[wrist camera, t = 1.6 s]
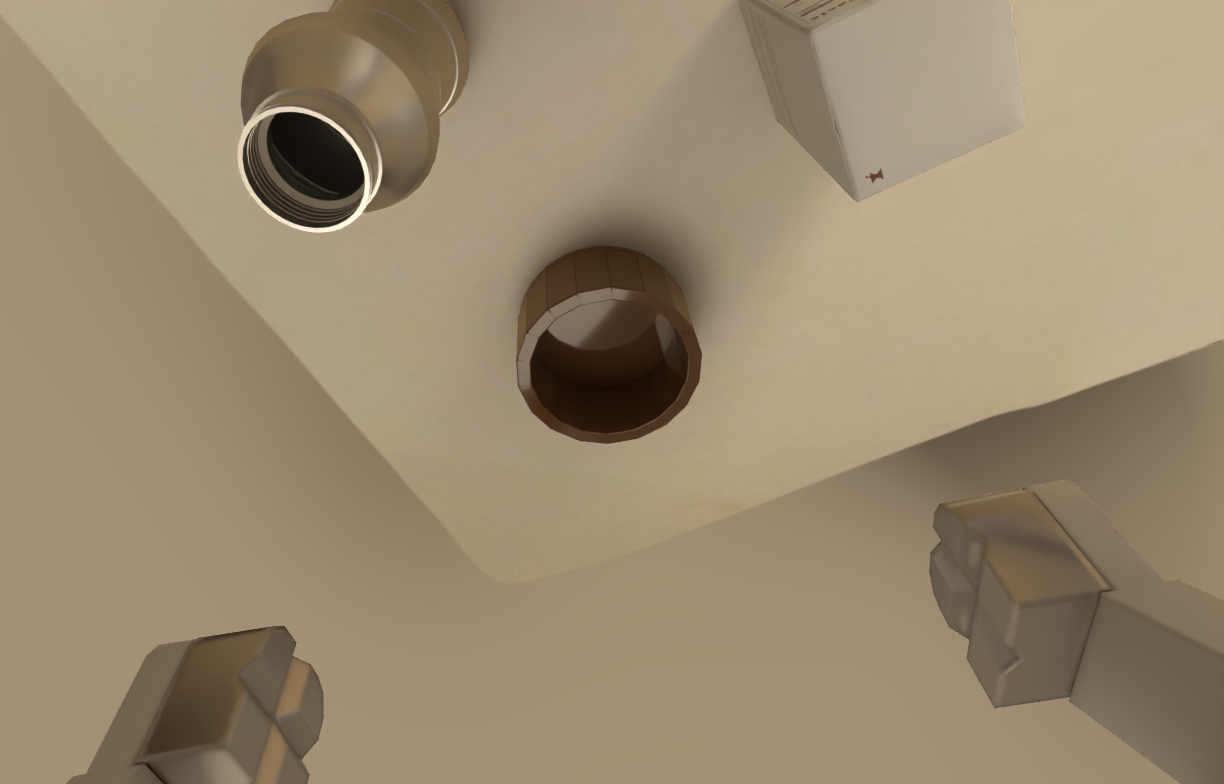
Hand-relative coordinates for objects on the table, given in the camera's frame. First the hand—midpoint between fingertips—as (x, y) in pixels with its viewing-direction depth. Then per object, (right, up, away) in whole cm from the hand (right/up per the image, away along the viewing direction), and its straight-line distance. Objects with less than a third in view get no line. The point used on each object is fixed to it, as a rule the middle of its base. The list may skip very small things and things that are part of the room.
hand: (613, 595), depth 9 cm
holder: (-1, +7, +39) cm, 39 cm away
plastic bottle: (-10, +20, +28) cm, 36 cm away
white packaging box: (+11, +21, +30) cm, 38 cm away
